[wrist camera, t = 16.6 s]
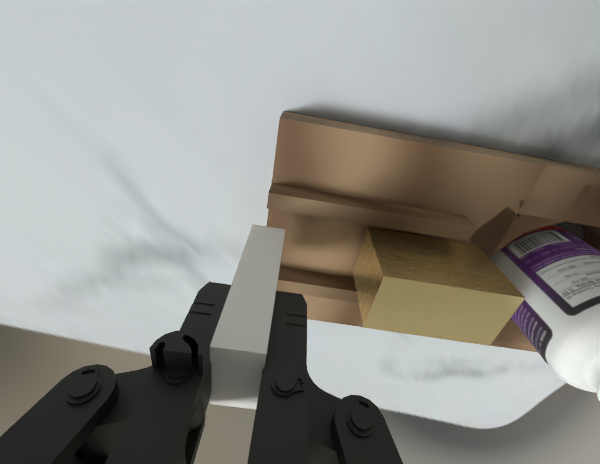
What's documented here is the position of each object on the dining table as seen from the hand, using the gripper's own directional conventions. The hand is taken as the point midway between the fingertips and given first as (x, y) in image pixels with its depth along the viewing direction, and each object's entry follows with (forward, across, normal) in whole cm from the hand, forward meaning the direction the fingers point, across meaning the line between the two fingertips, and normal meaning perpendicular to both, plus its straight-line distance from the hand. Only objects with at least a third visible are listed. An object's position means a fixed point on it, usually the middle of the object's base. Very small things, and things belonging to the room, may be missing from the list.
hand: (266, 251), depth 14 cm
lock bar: (+2, +8, 0) cm, 8 cm away
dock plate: (+4, +11, 0) cm, 11 cm away
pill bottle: (+4, +16, 0) cm, 16 cm away
